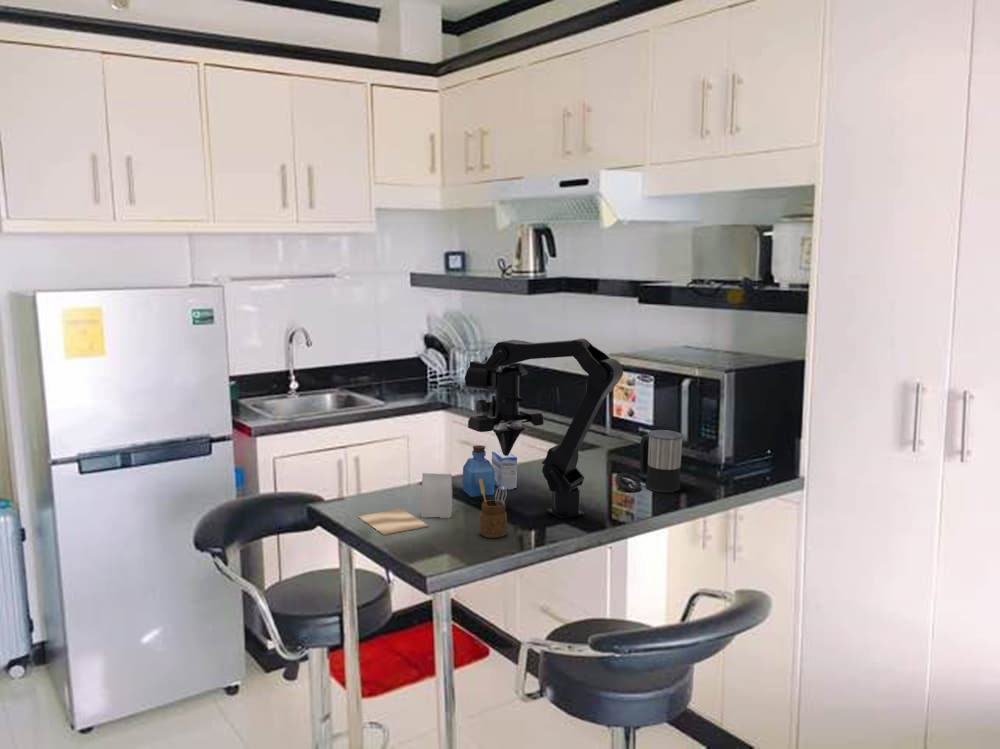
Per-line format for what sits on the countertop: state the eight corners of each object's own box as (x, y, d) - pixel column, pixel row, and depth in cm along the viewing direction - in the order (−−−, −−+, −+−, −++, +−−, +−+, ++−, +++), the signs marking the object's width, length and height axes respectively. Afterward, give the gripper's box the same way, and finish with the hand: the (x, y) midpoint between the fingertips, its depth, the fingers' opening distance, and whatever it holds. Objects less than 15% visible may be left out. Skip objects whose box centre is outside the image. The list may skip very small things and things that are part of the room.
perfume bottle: (471, 496, 206) (472, 450, 204) (462, 490, 212) (463, 445, 210) (494, 494, 208) (495, 448, 207) (484, 487, 214) (485, 443, 212)
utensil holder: (500, 540, 175) (501, 486, 174) (474, 536, 178) (474, 482, 176) (510, 531, 181) (511, 479, 179) (484, 527, 183) (485, 475, 181)
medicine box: (490, 482, 219) (491, 450, 218) (506, 481, 221) (506, 449, 220) (501, 490, 212) (501, 457, 211) (517, 489, 214) (517, 456, 212)
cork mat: (428, 527, 183) (428, 525, 183) (383, 535, 177) (383, 534, 177) (401, 509, 194) (401, 508, 194) (358, 517, 189) (358, 516, 189)
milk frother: (687, 488, 216) (690, 434, 214) (652, 500, 206) (655, 443, 203) (643, 477, 227) (646, 425, 224) (608, 488, 216) (610, 433, 213)
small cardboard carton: (450, 518, 189) (450, 476, 188) (421, 517, 190) (421, 475, 188) (452, 513, 193) (452, 472, 191) (423, 512, 193) (423, 471, 192)
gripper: (520, 384, 209) (519, 444, 211) (456, 390, 199) (456, 452, 201) (546, 391, 200) (544, 453, 202) (480, 397, 190) (479, 463, 192)
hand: (505, 455), depth 200 cm, fingers closed
